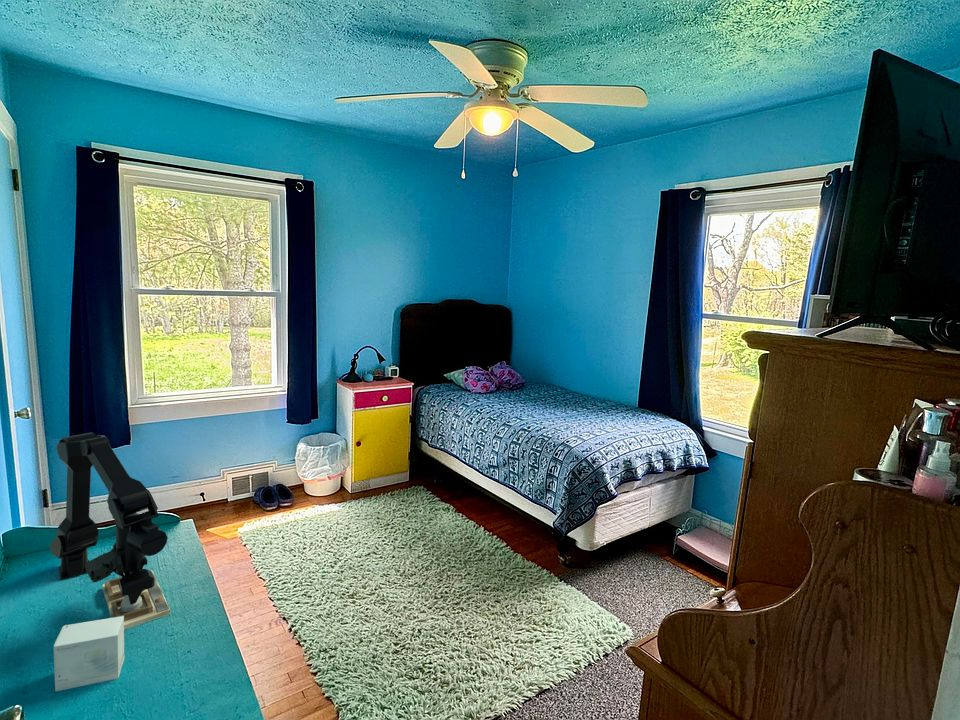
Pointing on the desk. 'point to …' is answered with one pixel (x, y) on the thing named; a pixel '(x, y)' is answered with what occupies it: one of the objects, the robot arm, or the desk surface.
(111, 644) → the skincare box
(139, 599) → the rook chess piece
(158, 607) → the board
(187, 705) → the desk surface
